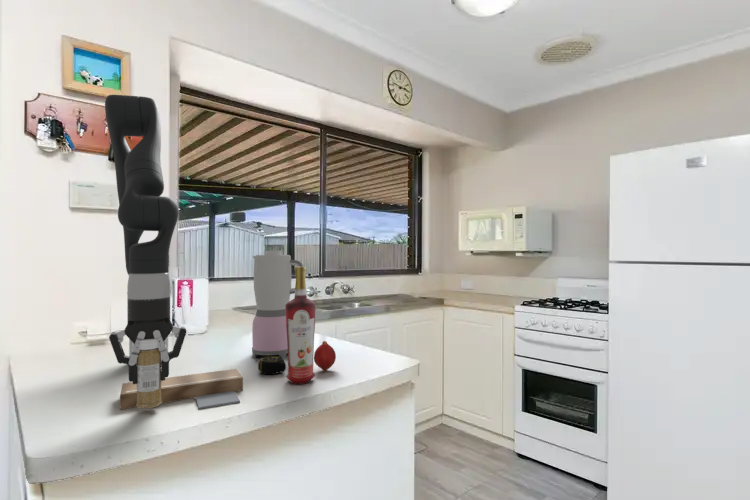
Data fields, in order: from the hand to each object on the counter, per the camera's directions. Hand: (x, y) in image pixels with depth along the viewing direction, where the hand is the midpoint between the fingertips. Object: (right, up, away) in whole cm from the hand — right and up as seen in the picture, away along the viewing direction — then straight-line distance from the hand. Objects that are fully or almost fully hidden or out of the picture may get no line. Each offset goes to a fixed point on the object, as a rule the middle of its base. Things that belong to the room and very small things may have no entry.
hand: (149, 380), depth 83 cm
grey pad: (+11, -6, +6) cm, 14 cm away
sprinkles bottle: (0, -5, 0) cm, 5 cm away
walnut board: (+2, -6, +10) cm, 12 cm away
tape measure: (+18, -6, +27) cm, 33 cm away
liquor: (+27, -6, +19) cm, 33 cm away
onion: (+32, -6, +28) cm, 43 cm away
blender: (+15, -6, +45) cm, 48 cm away
